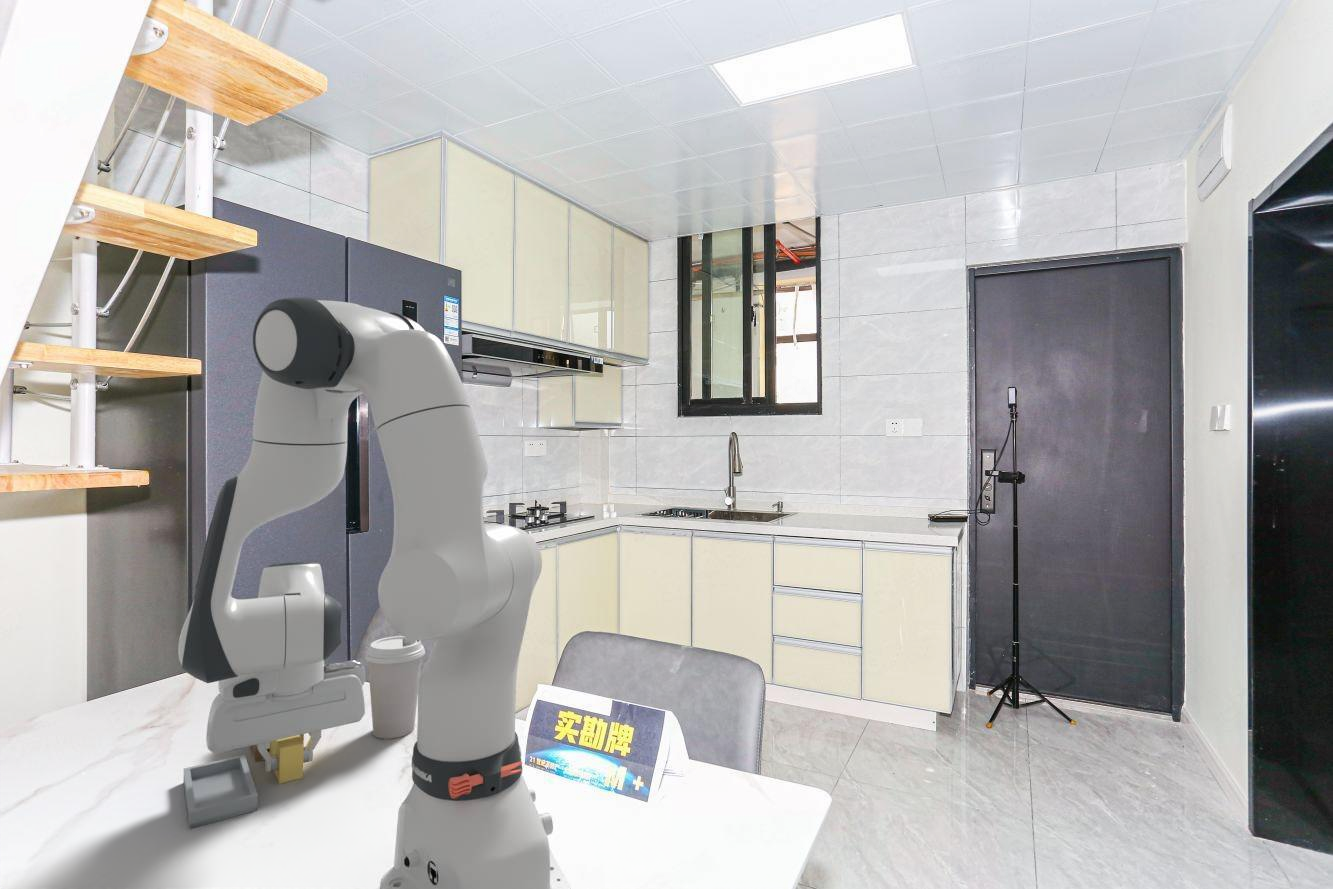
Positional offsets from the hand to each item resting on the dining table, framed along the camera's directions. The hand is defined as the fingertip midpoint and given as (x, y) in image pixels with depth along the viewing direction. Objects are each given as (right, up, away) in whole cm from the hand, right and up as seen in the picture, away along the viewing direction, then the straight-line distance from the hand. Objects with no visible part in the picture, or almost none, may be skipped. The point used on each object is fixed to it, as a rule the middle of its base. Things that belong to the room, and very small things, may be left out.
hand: (289, 765), depth 99 cm
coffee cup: (+9, -2, +16) cm, 18 cm away
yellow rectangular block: (-2, -1, +2) cm, 3 cm away
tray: (-6, -1, -6) cm, 9 cm away
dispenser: (-7, -1, +9) cm, 12 cm away
